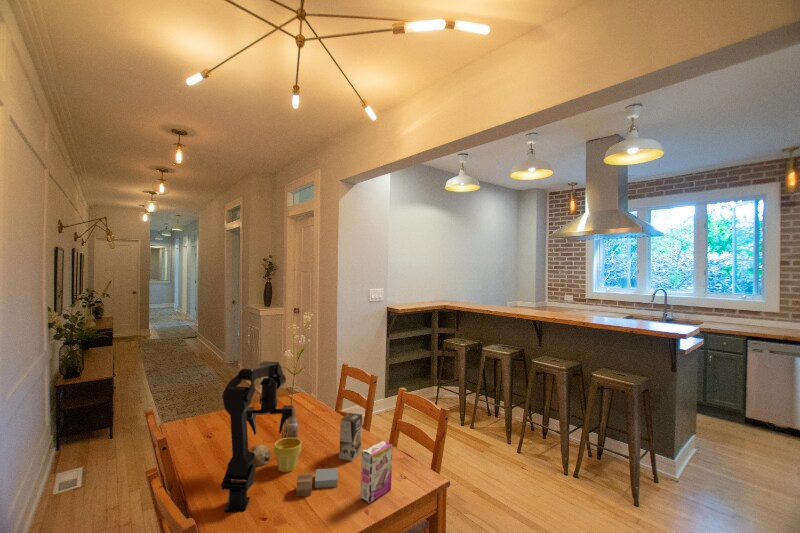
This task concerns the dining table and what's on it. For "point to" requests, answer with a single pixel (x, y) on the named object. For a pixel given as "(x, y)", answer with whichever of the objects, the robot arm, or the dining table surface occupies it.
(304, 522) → the dining table surface
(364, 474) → the candy bar box
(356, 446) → the coffee box
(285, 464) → the plant pot
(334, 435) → the dining table surface
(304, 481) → the walnut cube
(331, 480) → the plinth
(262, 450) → the grey rounded lump
